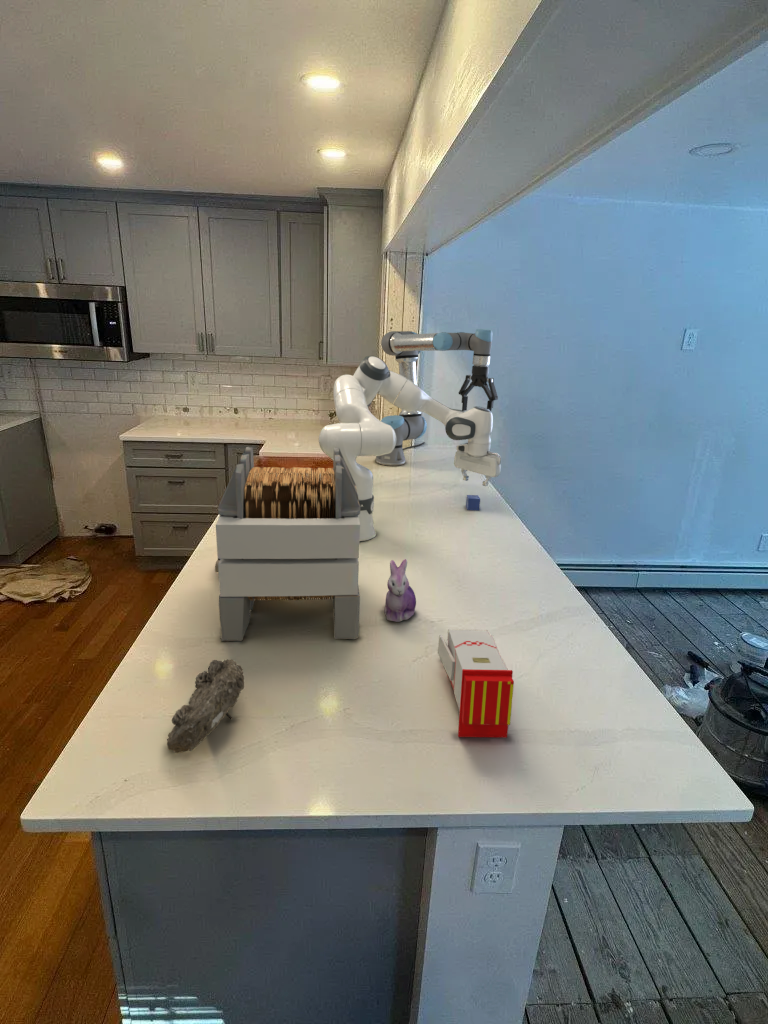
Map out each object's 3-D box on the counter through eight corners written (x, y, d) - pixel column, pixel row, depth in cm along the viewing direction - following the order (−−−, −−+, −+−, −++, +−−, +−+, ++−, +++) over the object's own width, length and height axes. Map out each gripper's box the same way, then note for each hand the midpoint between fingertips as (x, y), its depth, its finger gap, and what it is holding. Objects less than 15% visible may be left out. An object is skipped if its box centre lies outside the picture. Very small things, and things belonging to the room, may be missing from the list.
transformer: (238, 577, 163) (231, 438, 149) (351, 576, 167) (355, 440, 153) (218, 643, 131) (207, 474, 117) (359, 640, 135) (365, 475, 121)
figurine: (392, 627, 141) (395, 572, 136) (374, 608, 149) (376, 556, 144) (425, 619, 145) (429, 566, 140) (405, 601, 154) (408, 550, 149)
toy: (488, 613, 130) (523, 677, 101) (484, 667, 133) (517, 744, 104) (435, 612, 130) (455, 676, 101) (432, 666, 133) (451, 743, 103)
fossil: (192, 660, 117) (244, 628, 112) (224, 691, 120) (276, 661, 115) (142, 746, 98) (202, 712, 93) (182, 779, 101) (242, 748, 96)
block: (467, 510, 227) (468, 498, 225) (465, 506, 231) (466, 494, 230) (479, 510, 227) (480, 498, 225) (477, 506, 231) (478, 495, 230)
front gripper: (505, 453, 216) (501, 487, 221) (462, 443, 229) (459, 475, 234) (496, 455, 212) (492, 490, 217) (453, 445, 225) (450, 478, 230)
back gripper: (509, 368, 249) (503, 416, 256) (463, 362, 265) (459, 408, 272) (499, 368, 244) (494, 417, 251) (453, 363, 260) (449, 409, 267)
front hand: (475, 483), depth 225 cm, fingers open, 8 cm apart
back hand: (476, 412), depth 261 cm, fingers open, 13 cm apart
